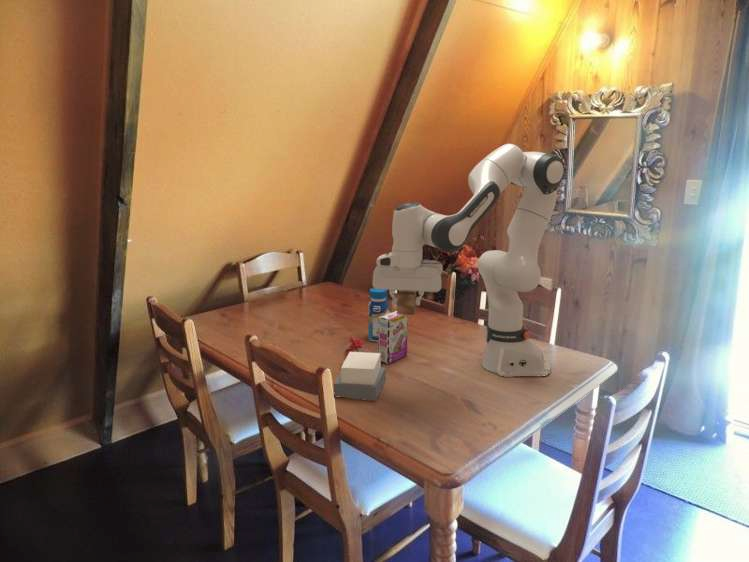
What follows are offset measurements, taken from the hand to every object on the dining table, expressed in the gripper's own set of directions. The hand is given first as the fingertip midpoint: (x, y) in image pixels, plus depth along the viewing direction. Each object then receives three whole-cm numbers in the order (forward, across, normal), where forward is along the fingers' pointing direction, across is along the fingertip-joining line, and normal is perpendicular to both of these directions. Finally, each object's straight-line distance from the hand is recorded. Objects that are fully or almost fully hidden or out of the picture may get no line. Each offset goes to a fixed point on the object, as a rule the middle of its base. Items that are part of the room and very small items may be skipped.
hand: (406, 304), depth 165 cm
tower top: (+23, +14, +1) cm, 27 cm away
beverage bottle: (+28, +17, -44) cm, 54 cm away
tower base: (+28, +14, +1) cm, 31 cm away
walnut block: (+2, 0, 0) cm, 2 cm away
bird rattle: (+28, +20, -15) cm, 37 cm away
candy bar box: (+28, +8, -25) cm, 38 cm away
